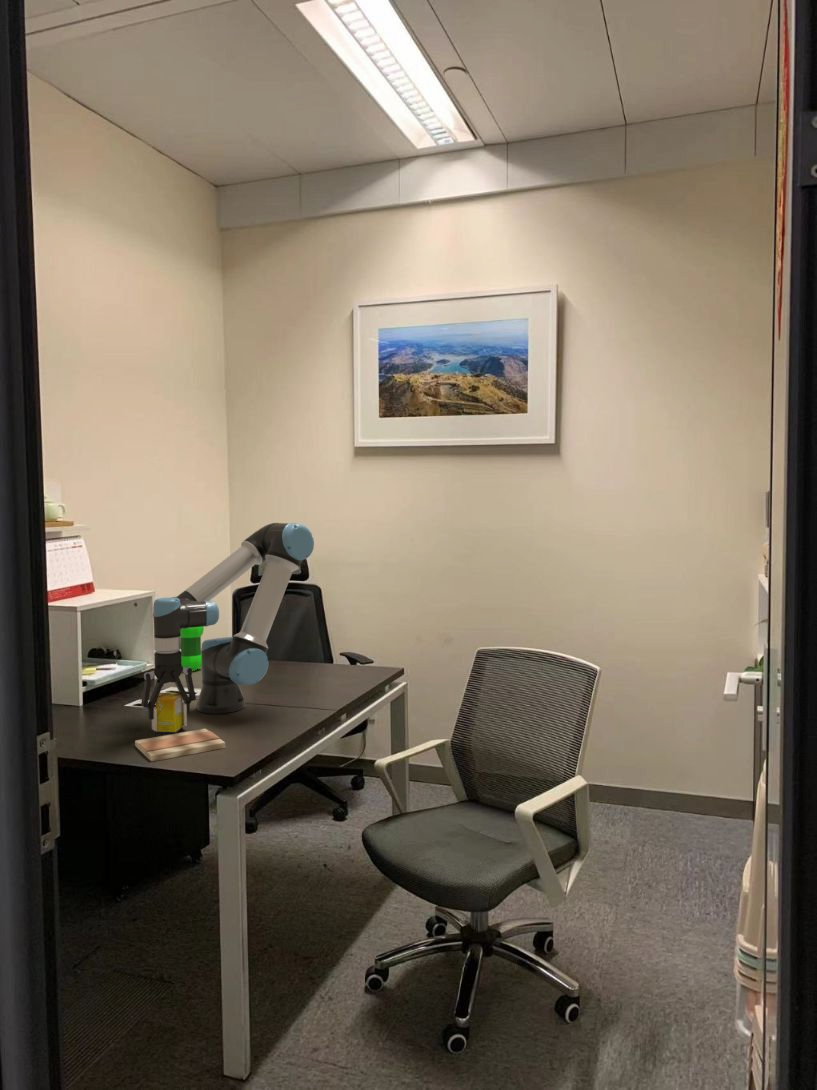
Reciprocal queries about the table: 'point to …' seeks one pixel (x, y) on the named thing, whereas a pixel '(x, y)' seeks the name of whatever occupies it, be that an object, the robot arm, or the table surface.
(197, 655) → the plastic bottle
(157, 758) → the board
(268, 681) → the table surface
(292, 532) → the robot arm
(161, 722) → the supplement box
